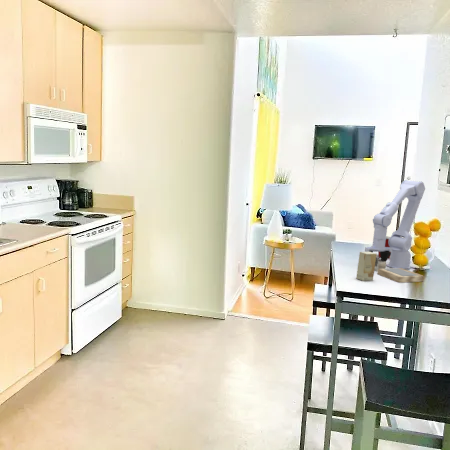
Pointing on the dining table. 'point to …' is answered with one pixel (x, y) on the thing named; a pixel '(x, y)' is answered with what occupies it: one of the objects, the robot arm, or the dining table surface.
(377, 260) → the housing
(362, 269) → the skincare box
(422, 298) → the dining table surface
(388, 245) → the plastic cup
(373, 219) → the robot arm
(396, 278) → the stand
